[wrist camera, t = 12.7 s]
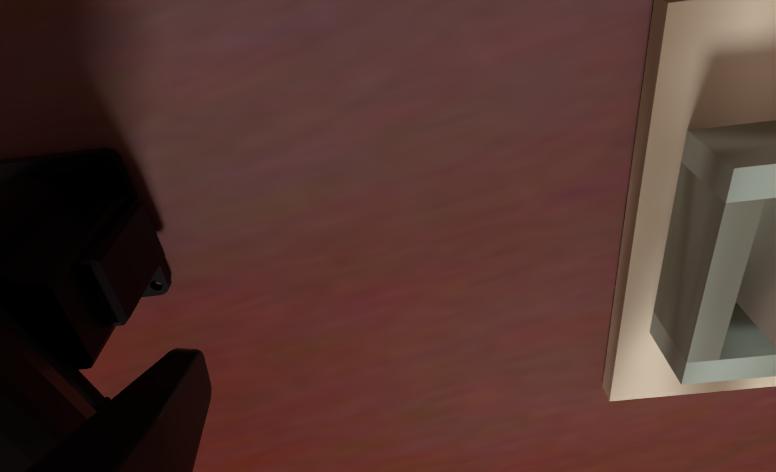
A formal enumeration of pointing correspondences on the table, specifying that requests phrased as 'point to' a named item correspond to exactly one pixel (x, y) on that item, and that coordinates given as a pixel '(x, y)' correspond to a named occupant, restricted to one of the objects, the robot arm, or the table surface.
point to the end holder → (696, 204)
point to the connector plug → (762, 275)
